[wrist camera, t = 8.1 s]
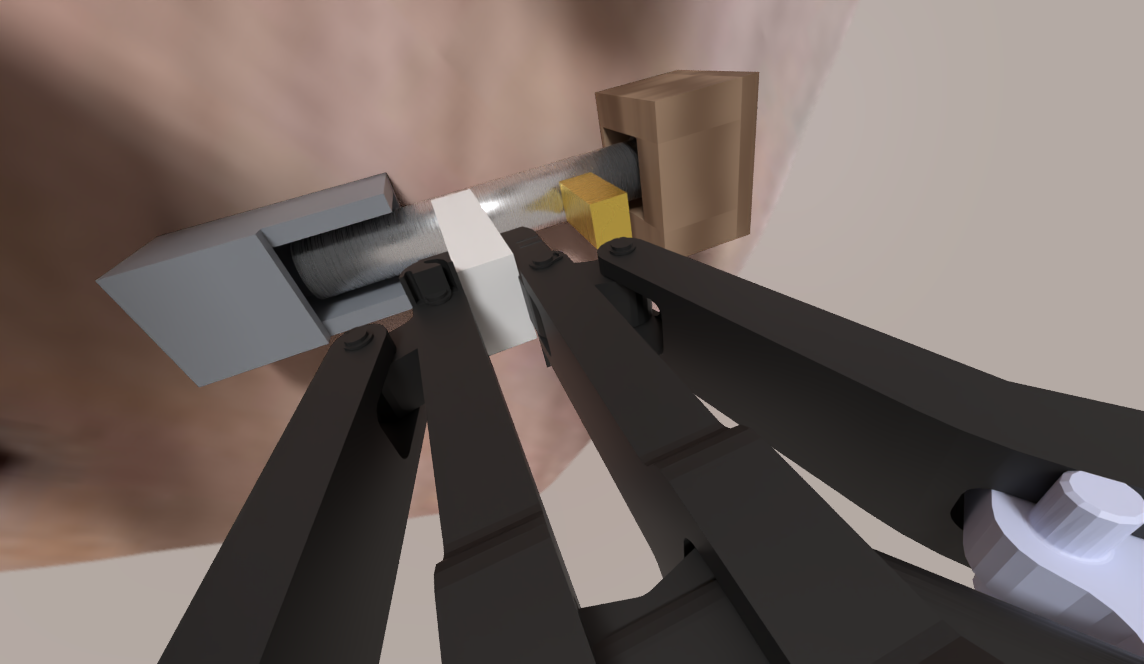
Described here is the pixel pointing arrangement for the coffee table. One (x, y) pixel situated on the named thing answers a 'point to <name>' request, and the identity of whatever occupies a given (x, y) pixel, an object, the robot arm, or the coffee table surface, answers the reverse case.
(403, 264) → the tube
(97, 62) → the coffee table surface
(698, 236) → the socket
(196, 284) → the sleeve
